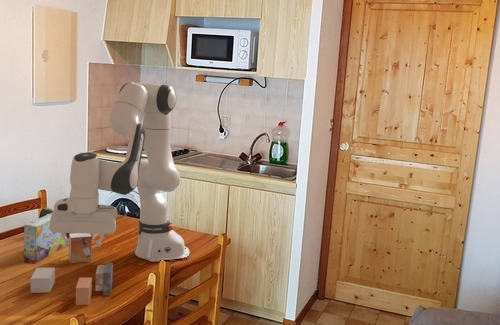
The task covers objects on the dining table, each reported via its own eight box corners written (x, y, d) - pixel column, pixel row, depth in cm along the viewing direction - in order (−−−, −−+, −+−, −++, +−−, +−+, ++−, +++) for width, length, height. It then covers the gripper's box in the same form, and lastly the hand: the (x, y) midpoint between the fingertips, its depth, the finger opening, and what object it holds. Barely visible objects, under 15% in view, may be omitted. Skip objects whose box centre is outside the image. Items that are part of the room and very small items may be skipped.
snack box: (36, 264, 197) (36, 226, 194) (23, 262, 198) (22, 224, 195) (66, 246, 217) (66, 211, 214) (54, 244, 218) (54, 210, 215)
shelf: (112, 282, 185) (113, 262, 183) (110, 295, 175) (110, 273, 174) (35, 283, 180) (35, 262, 178) (28, 296, 170) (28, 274, 169)
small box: (70, 263, 199) (70, 237, 197) (68, 258, 204) (68, 233, 202) (91, 261, 203) (92, 236, 201) (89, 256, 208) (89, 231, 206)
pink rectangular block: (91, 297, 173) (91, 277, 172) (88, 308, 165) (89, 287, 164) (79, 297, 172) (79, 277, 171) (75, 308, 165) (75, 287, 163)
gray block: (54, 281, 180) (54, 267, 180) (49, 292, 172) (49, 278, 171) (36, 281, 179) (36, 267, 178) (30, 292, 171) (30, 278, 170)
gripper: (118, 203, 169) (116, 243, 171) (53, 200, 166) (52, 241, 168) (116, 208, 163) (114, 250, 165) (48, 205, 159) (47, 248, 162)
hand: (82, 245), depth 166 cm, fingers open, 8 cm apart
